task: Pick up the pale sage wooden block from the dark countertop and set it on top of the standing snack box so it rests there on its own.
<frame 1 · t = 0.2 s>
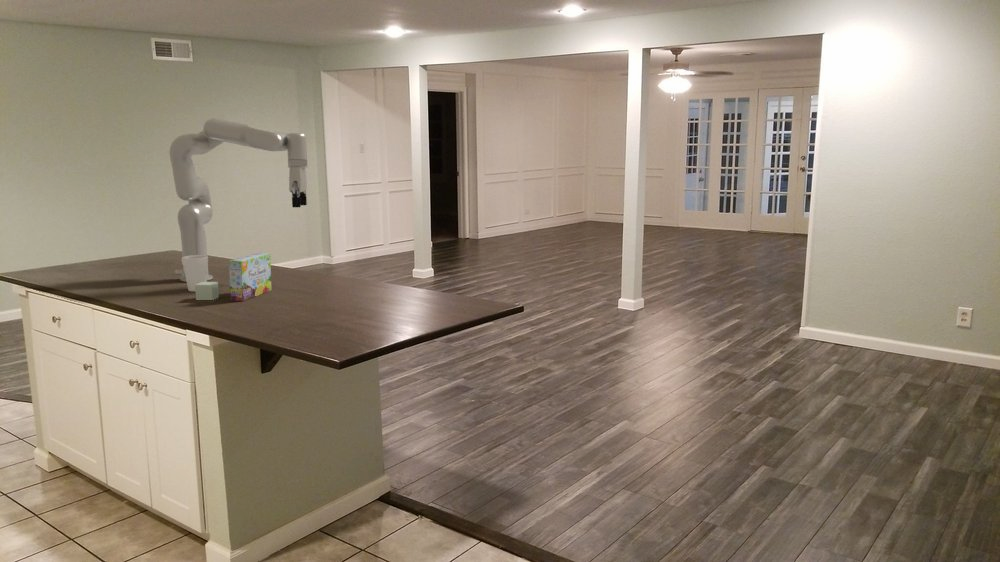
hand: (299, 206, 305), 31 cm above the table, tool pointing down, fingers open, 9 cm apart
sage block: (207, 299, 274), on the table
snack box: (252, 296, 281), on the table
foam cup: (197, 290, 291), on the table
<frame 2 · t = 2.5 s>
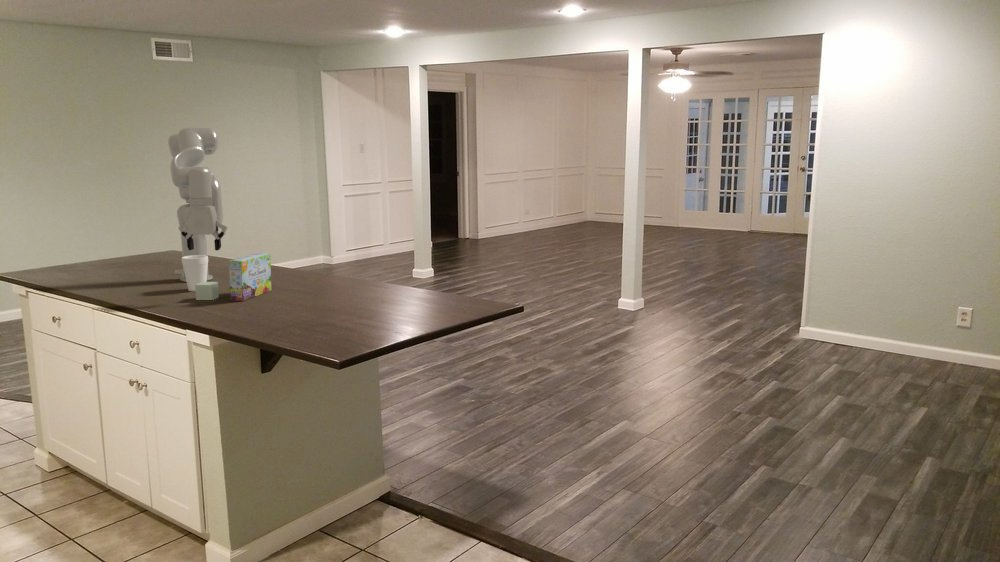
hand: (204, 249, 270), 18 cm above the table, tool pointing down, fingers open, 9 cm apart
nothing on the table moved.
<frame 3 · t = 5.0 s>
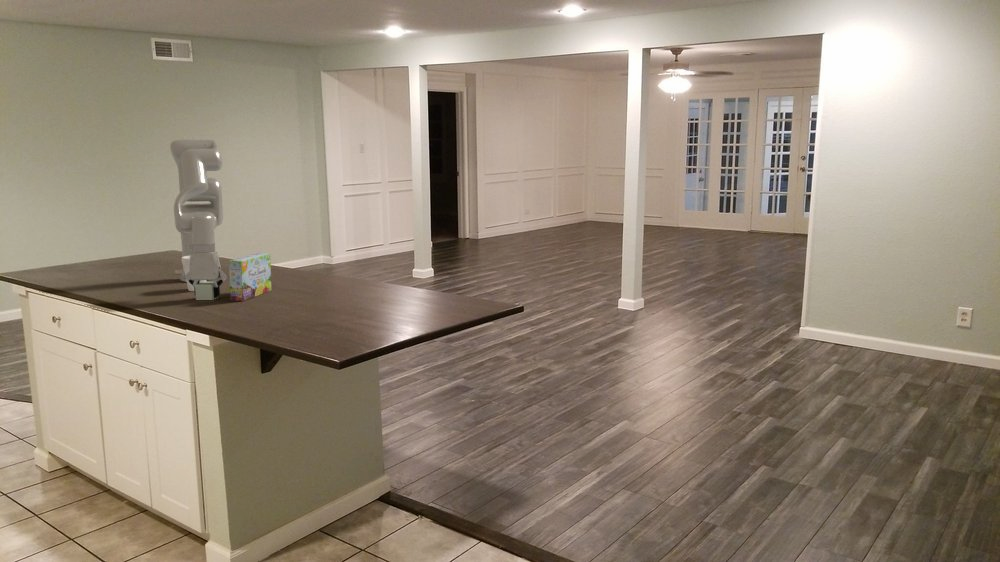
hand: (207, 296, 274), 1 cm above the table, tool pointing down, fingers closed on sage block, 6 cm apart
sage block: (207, 299, 274), on the table, touching gripper
everything else where it was.
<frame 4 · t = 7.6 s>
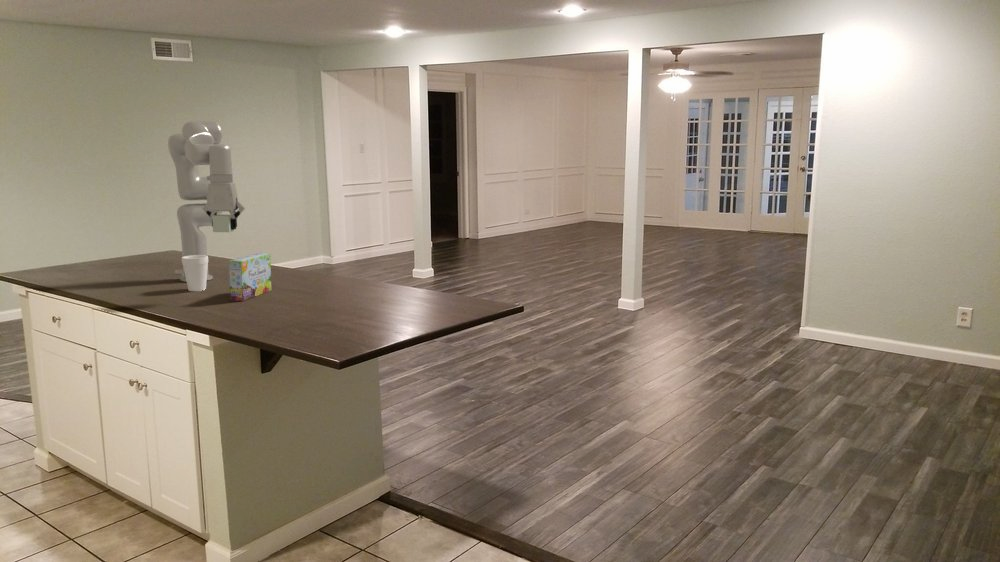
hand: (224, 228, 272), 26 cm above the table, tool pointing down, fingers closed on sage block, 6 cm apart
sage block: (224, 231, 272), point 25 cm above the table, touching gripper
everything else where it was.
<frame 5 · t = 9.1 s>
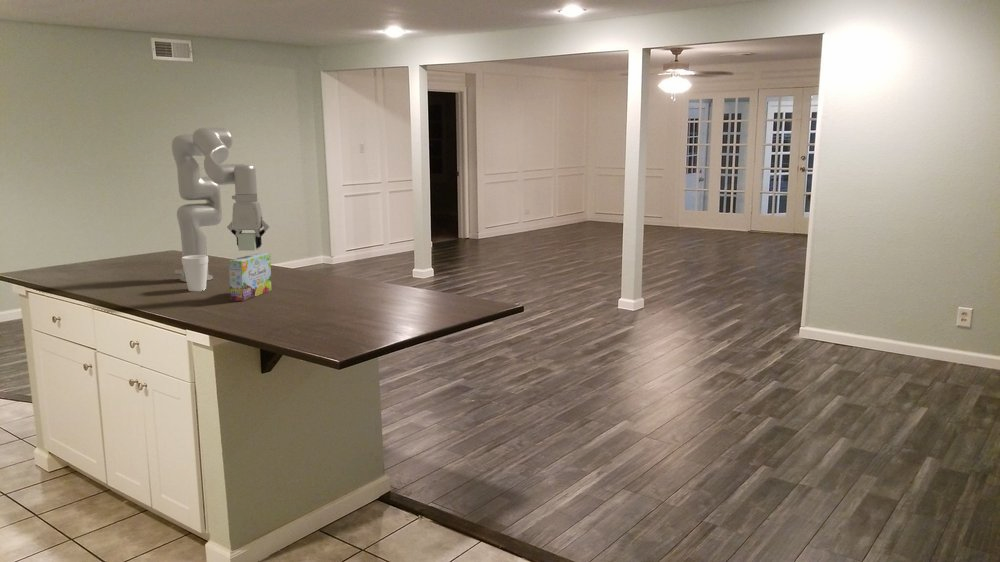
hand: (249, 246, 277), 18 cm above the table, tool pointing down, fingers closed on sage block, 6 cm apart
sage block: (249, 249, 277), point 18 cm above the table, touching gripper
everything else where it was.
when the fingers open (16 cm above the table, at t = 10.3 s): sage block stays where it is, resting on snack box.
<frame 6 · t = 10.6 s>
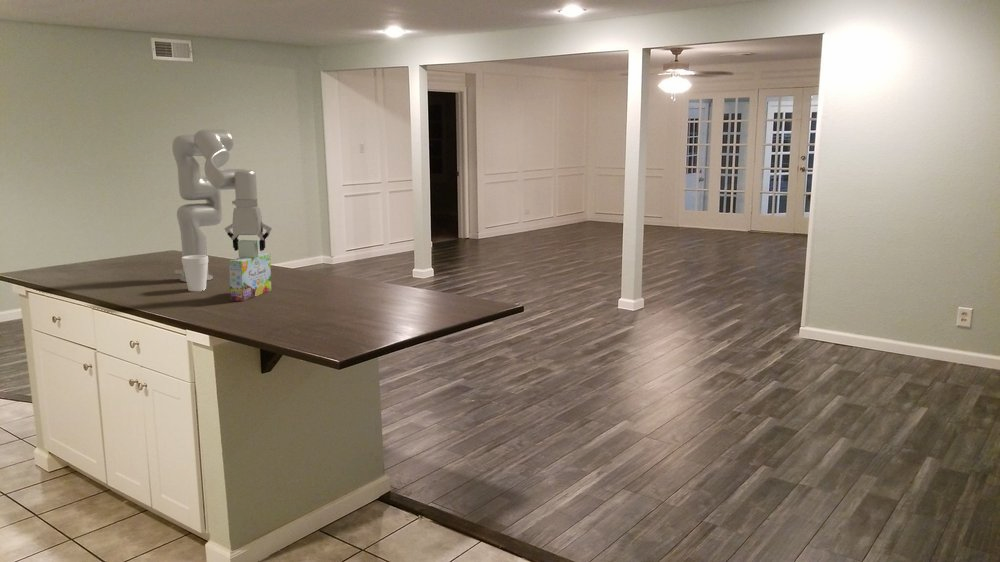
hand: (249, 250, 277), 17 cm above the table, tool pointing down, fingers open, 9 cm apart
sage block: (249, 256, 278), point 15 cm above the table, touching snack box
snack box: (252, 296, 281), on the table, touching sage block
everything else where it was.
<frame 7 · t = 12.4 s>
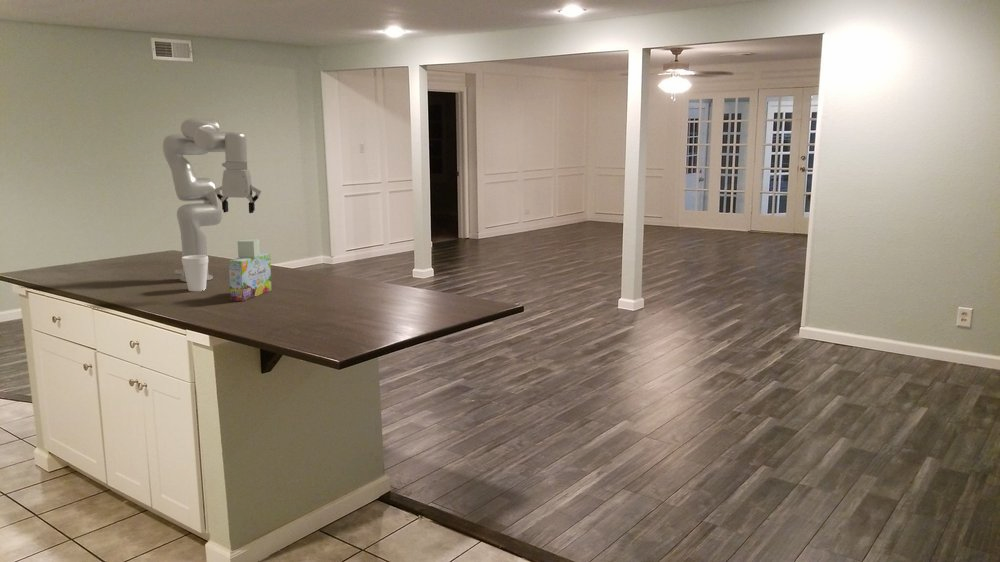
hand: (238, 212, 281), 31 cm above the table, tool pointing down, fingers open, 9 cm apart
nothing on the table moved.
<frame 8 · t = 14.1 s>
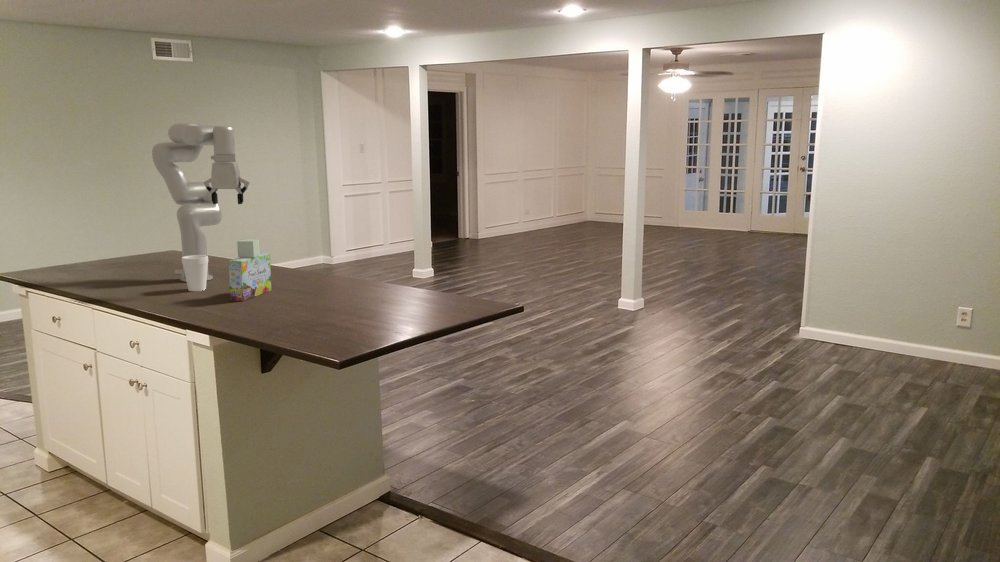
hand: (227, 203, 287), 33 cm above the table, tool pointing down, fingers open, 9 cm apart
nothing on the table moved.
at the end: sage block inside the target area on the snack box (0.1 cm from its centre), point 15.3 cm above the snack box's base; sage block tilted 0°; sage block touching snack box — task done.
